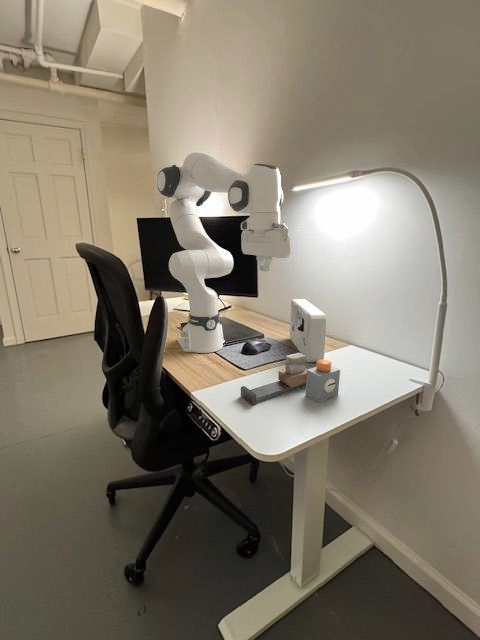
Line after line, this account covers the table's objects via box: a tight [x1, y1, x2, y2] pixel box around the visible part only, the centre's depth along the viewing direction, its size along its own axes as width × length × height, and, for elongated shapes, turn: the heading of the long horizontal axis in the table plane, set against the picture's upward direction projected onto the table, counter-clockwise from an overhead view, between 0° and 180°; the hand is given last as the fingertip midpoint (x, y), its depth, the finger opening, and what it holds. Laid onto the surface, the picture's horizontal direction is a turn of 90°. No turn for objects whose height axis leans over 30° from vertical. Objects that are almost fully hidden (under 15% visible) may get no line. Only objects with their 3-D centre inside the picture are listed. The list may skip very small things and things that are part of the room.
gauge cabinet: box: [305, 365, 341, 403], centre depth 94 cm, size 6×8×8 cm
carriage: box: [277, 352, 309, 387], centre depth 100 cm, size 6×8×8 cm
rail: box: [240, 380, 306, 406], centre depth 98 cm, size 6×24×3 cm, turn 122°
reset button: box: [315, 359, 332, 372], centre depth 93 cm, size 4×4×2 cm
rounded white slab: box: [289, 298, 327, 363], centre depth 128 cm, size 29×8×18 cm, turn 6°
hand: (264, 271), depth 100 cm, fingers closed
